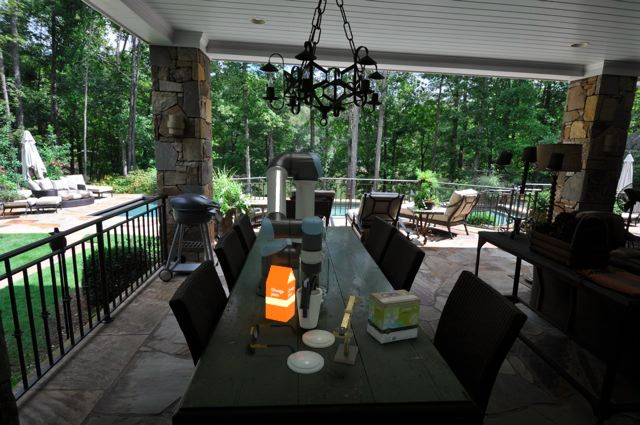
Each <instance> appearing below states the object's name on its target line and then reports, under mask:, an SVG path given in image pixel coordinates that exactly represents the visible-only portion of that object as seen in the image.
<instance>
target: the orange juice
mask: <svg viewBox="0 0 640 425" xmlns="http://www.w3.org/2000/svg"><path fill="white" fill-rule="evenodd" d="M295 302H296V277H295V274H294V270H292V268H287V267H280V266H273V265H271V268H270V272H269V275H268V278H267V282H266V297H265V318H266V319H267V320H268V319H269V320H274V321H279V322H284V323H287V322H288V321H289V320H290V319H292V318H293V316H294V315H295V307H296V306H295V304H296V303H295Z"/></svg>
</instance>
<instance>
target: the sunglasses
mask: <svg viewBox="0 0 640 425" xmlns="http://www.w3.org/2000/svg"><path fill="white" fill-rule="evenodd" d="M282 327H290V329H291V331H292V333H293V334H294V335H297V330H296V329H295V327H293V325H292V324H258V323H256V322H255V323H254V324H253V325H252V326H251V328H250V333H249V341H250V342H249V343H250V348H251V351H252V353H256V349H257V348H258V349H259V348H280V347H288V348H289V349H290V350H291V353H292V354H293V353H296V352H297V350H295V348H294V347H293V346H292V345H291V344H286V343H285V344H281V343H280V344H279V343H278V344H274V343H273V344H272V343H270V344H267V343H266V344H264V343H263V344H262V343H261V344H256V342H255V341H257V340H258V338H259V336H260V328H282Z"/></svg>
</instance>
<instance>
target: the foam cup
mask: <svg viewBox="0 0 640 425" xmlns="http://www.w3.org/2000/svg"><path fill="white" fill-rule="evenodd" d="M301 292H302V286H301V287H299V288H297V290H296V291H295V298H296V301H297V311H298V318H299V326H300V327H301V328H303V329H309V330H311V329H314V328H316V327H317V325H318V320H319V317H320V316H319V315H320V309H321V303H322V300H323V290H322V289H321V288H320V287H319V288H316V290H314V291H312V292H311V296H310V304H309V308H310V319H309V326H302V325H301V323H302V309H300V308H299V307H300V302H301Z"/></svg>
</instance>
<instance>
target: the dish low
mask: <svg viewBox="0 0 640 425" xmlns="http://www.w3.org/2000/svg"><path fill="white" fill-rule="evenodd" d="M286 362H287V367H288V368H289V369H290V370H291V371H292V372H294V373H298V374H302V375H303V374H305V375H308V374H315V373H317V372H319V371H321V370H322V369H323V367H324V364H325V358H323V356H322V355H321V354H319V353H317V352H314V351H312V350H311V351H310V350H300V351H296V353H292V354H290V355H289V356H288V357H287V361H286Z"/></svg>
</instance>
